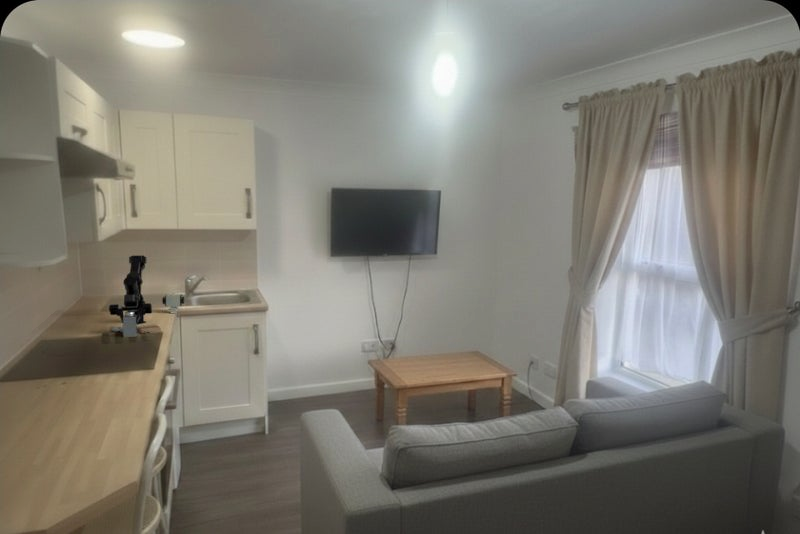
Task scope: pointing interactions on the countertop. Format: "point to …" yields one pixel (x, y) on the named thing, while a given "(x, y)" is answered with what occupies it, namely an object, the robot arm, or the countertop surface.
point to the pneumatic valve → (173, 302)
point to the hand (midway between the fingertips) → (129, 323)
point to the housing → (130, 324)
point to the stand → (149, 328)
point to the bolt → (116, 329)
